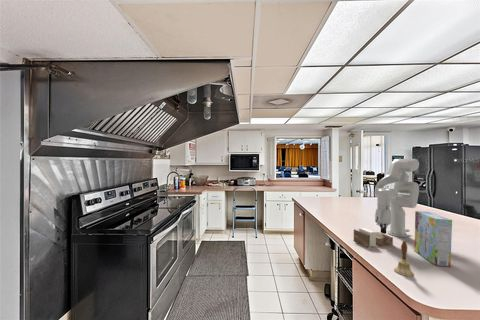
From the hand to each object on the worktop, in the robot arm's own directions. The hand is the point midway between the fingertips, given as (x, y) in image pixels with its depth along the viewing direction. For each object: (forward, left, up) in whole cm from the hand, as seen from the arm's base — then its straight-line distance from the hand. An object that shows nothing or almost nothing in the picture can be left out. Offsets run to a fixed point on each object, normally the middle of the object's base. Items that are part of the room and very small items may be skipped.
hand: (383, 233), depth 164 cm
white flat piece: (+3, -18, -6) cm, 19 cm away
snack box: (-4, +29, -6) cm, 30 cm away
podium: (+9, 0, -6) cm, 11 cm away
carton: (+12, +1, -1) cm, 12 cm away
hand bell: (+28, +39, -6) cm, 48 cm away
